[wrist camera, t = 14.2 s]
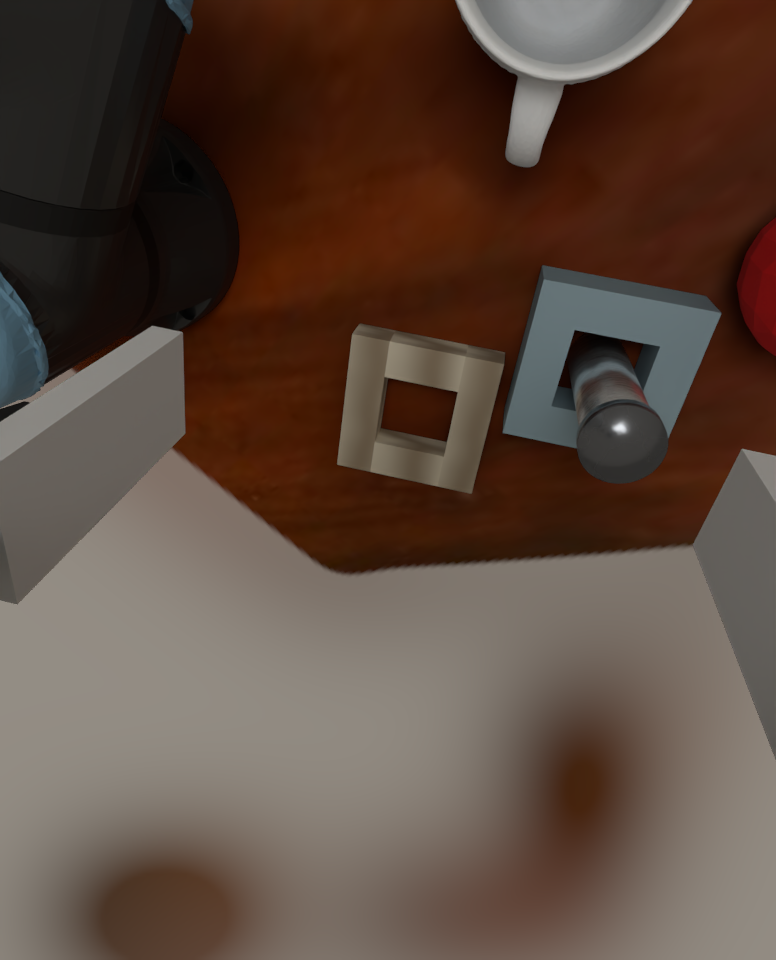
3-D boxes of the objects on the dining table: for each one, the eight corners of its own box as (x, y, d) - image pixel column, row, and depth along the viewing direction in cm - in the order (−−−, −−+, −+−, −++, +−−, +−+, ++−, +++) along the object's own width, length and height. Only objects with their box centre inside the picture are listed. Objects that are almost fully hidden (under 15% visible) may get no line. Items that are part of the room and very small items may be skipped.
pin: (555, 381, 48) (567, 473, 36) (573, 320, 45) (592, 398, 33) (617, 393, 47) (650, 491, 35) (639, 333, 45) (681, 416, 33)
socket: (503, 409, 50) (502, 432, 46) (542, 265, 44) (543, 279, 40) (647, 439, 49) (656, 465, 45) (705, 295, 43) (721, 313, 39)
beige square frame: (344, 450, 54) (336, 464, 52) (359, 323, 48) (352, 333, 46) (473, 477, 53) (471, 493, 51) (505, 352, 47) (504, 364, 45)
